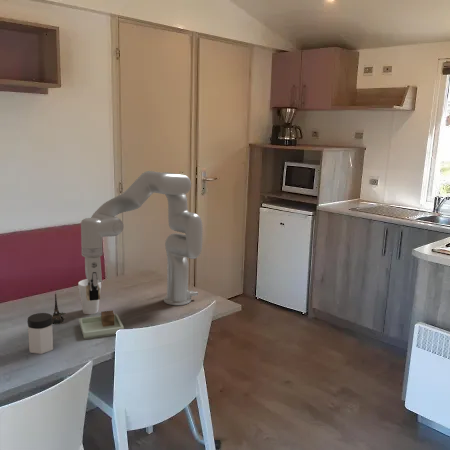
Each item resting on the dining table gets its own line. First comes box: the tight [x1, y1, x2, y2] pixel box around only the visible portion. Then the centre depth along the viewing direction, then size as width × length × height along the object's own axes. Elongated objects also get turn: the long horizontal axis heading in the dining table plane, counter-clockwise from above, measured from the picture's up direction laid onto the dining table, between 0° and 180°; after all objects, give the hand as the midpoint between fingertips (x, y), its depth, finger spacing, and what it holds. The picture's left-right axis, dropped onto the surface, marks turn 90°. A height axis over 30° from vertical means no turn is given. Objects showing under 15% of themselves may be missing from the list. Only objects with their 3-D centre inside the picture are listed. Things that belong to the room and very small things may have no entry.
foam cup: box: [77, 278, 102, 315], centre depth 205 cm, size 10×9×13 cm
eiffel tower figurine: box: [52, 291, 66, 325], centre depth 194 cm, size 15×10×13 cm
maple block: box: [86, 285, 101, 301], centre depth 182 cm, size 4×4×4 cm
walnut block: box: [100, 310, 115, 327], centre depth 192 cm, size 4×4×4 cm
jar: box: [27, 312, 54, 355], centre depth 171 cm, size 9×8×12 cm
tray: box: [78, 313, 125, 340], centre depth 189 cm, size 15×14×3 cm
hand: (93, 297), depth 182 cm, fingers closed on maple block, 4 cm apart
